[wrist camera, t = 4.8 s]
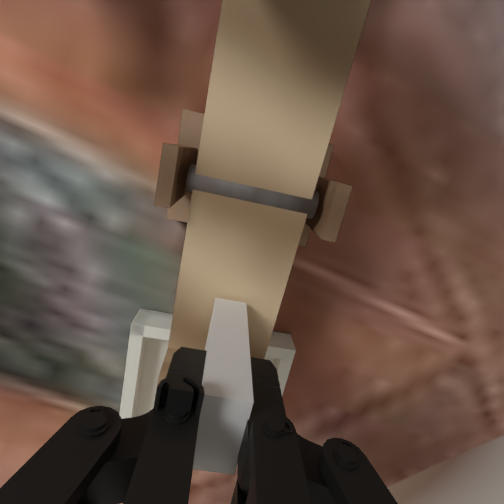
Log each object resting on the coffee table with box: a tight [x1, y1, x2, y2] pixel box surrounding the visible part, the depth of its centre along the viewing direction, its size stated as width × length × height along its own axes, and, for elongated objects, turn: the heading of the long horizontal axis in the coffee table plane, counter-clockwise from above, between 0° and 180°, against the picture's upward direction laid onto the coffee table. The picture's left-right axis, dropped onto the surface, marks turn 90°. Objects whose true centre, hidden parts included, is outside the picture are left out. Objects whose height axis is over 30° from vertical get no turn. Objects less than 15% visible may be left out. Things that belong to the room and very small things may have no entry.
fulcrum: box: [154, 109, 352, 247], centre depth 16 cm, size 6×8×7 cm
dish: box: [119, 308, 296, 419], centre depth 23 cm, size 10×11×2 cm
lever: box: [157, 0, 371, 386], centre depth 12 cm, size 26×6×5 cm, turn 167°
